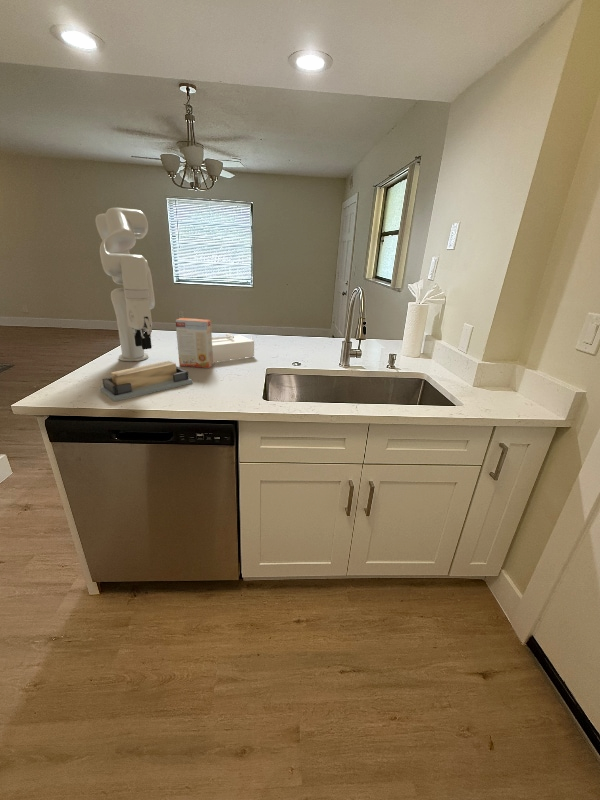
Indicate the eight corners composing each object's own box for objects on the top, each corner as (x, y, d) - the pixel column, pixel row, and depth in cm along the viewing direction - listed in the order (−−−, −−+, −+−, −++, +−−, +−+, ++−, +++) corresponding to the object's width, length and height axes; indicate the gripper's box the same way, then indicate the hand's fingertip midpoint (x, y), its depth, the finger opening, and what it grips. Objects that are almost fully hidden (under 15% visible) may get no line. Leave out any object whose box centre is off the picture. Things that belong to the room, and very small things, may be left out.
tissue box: (254, 357, 173) (254, 336, 169) (207, 364, 159) (206, 341, 154) (240, 351, 183) (240, 330, 179) (195, 356, 169) (194, 334, 165)
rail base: (100, 390, 122) (98, 378, 120) (176, 374, 142) (175, 364, 140) (114, 401, 114) (112, 388, 112) (192, 383, 133) (191, 372, 132)
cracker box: (213, 364, 157) (211, 319, 149) (209, 368, 152) (206, 321, 143) (184, 362, 158) (180, 317, 150) (178, 366, 152) (174, 319, 144)
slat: (113, 388, 120) (111, 372, 118) (169, 375, 136) (168, 360, 134) (120, 392, 117) (118, 375, 115) (177, 378, 133) (175, 363, 131)
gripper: (115, 292, 117) (123, 344, 124) (136, 298, 107) (143, 354, 114) (137, 291, 122) (143, 341, 129) (159, 297, 112) (164, 350, 119)
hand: (143, 346), depth 122 cm, fingers open, 4 cm apart
